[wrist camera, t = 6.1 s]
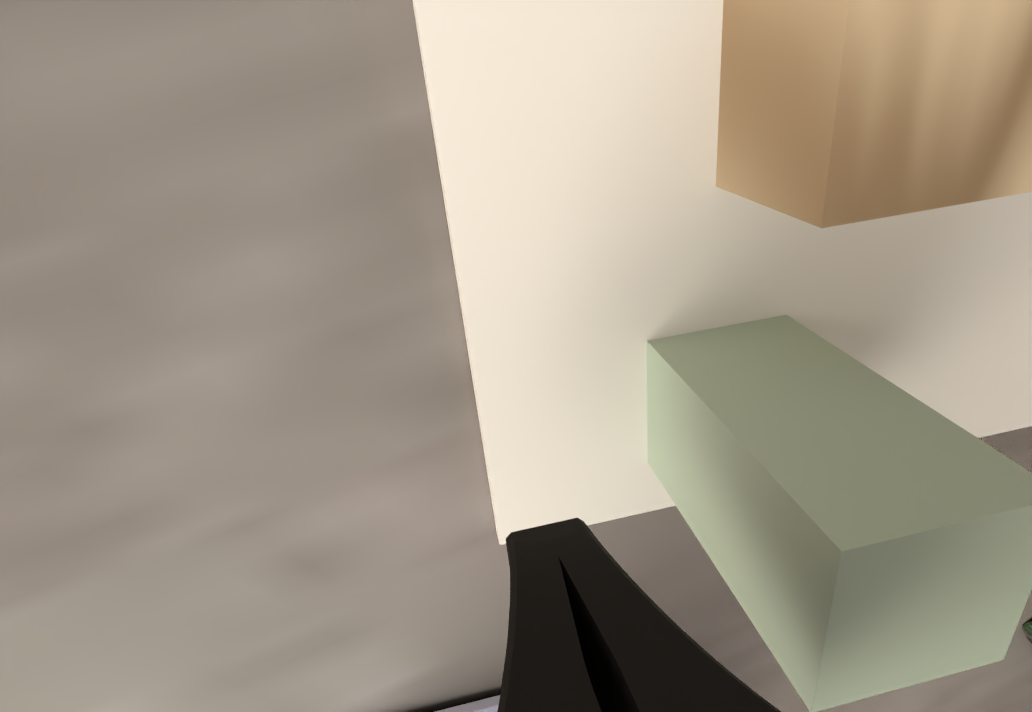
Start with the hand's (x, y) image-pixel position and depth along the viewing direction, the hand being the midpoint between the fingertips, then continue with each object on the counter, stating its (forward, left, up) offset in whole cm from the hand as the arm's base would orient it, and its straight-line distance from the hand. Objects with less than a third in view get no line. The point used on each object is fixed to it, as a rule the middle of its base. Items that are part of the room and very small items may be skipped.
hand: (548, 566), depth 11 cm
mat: (+3, -8, -5) cm, 10 cm away
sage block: (0, -5, -4) cm, 7 cm away
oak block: (+7, -5, -3) cm, 9 cm away
